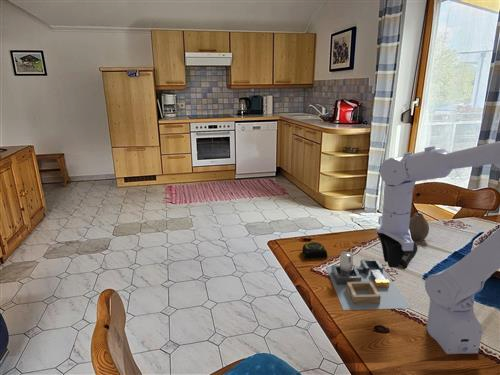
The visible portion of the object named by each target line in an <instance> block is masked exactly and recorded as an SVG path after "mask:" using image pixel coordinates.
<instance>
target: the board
mask: <svg viewBox="0 0 500 375" xmlns="http://www.w3.org/2000/svg"><path fill="white" fill-rule="evenodd" d="M355 267H356V268H358V267H361V266H360V265H355ZM325 268H326V271H327V273H328V275H329V278H330V280H331V283H332V285H333V288H334V290H335V294H336V295H337V297H338V301H339V302H340V306H341V308H342V311H357V310H358V311H360V310H361V311H362V310H363V311H364V310H393V309H394V310H395V309H399V310H400V309H412V307H411V306H410V304H409V303H408V301H407V300H406V299H405V297H404V296H403V294H402V293H401V291H400V290H399V288H398V287H397V286H396V284H395V283H394V282H393V281H392V279H391V278H390V276H389V275H388V273H387V271H385V269H384V268H383V274H382V275H383V276H384V278H385V279H386V280H387V279H388V281H389V282H390V283H389V288H376V287H375V288H376V289H377V291H378V293H379V294H380V296H381V299H380V304H353V302H352V300H351V298H350V295H349V293H348V291H347V285H337V284H336V282H335V279H334V277H333V275H332V272H331V271H332V266H325ZM371 270H376V268H375V267H369V275H365V273H359V274H360V276H361V282H364V281H372V283H373V284H374V286H375V282H374V280H373V279H372V277H371V275H370V273H371ZM338 274H339V276H340V273H338ZM352 276H353V274H352ZM355 293H356V295H371V293H370V291H369V290H356V291H355Z"/></svg>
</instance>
